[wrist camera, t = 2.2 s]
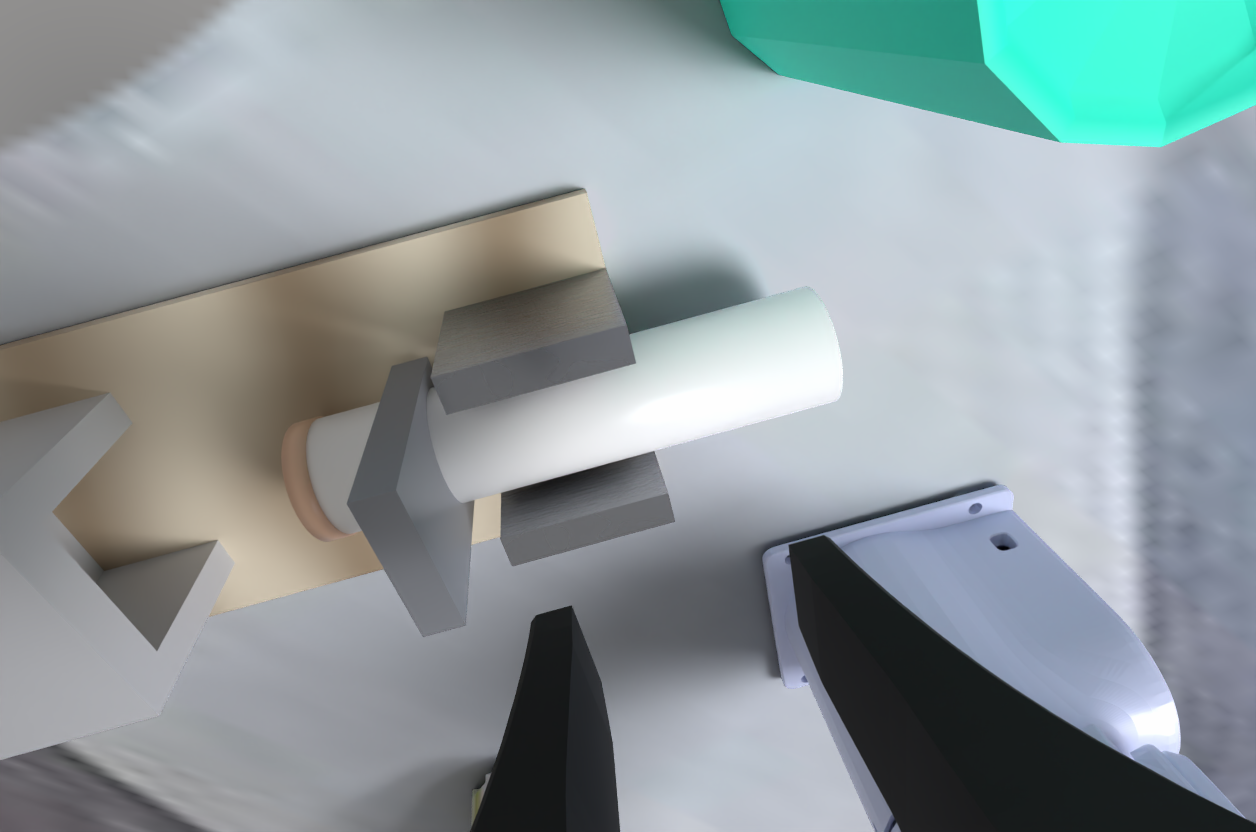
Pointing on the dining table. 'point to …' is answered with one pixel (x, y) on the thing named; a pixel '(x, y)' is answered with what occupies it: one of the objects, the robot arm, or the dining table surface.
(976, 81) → the candle
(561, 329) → the grey parallel plates
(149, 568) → the socket
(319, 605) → the dining table surface
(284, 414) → the board
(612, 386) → the tube
